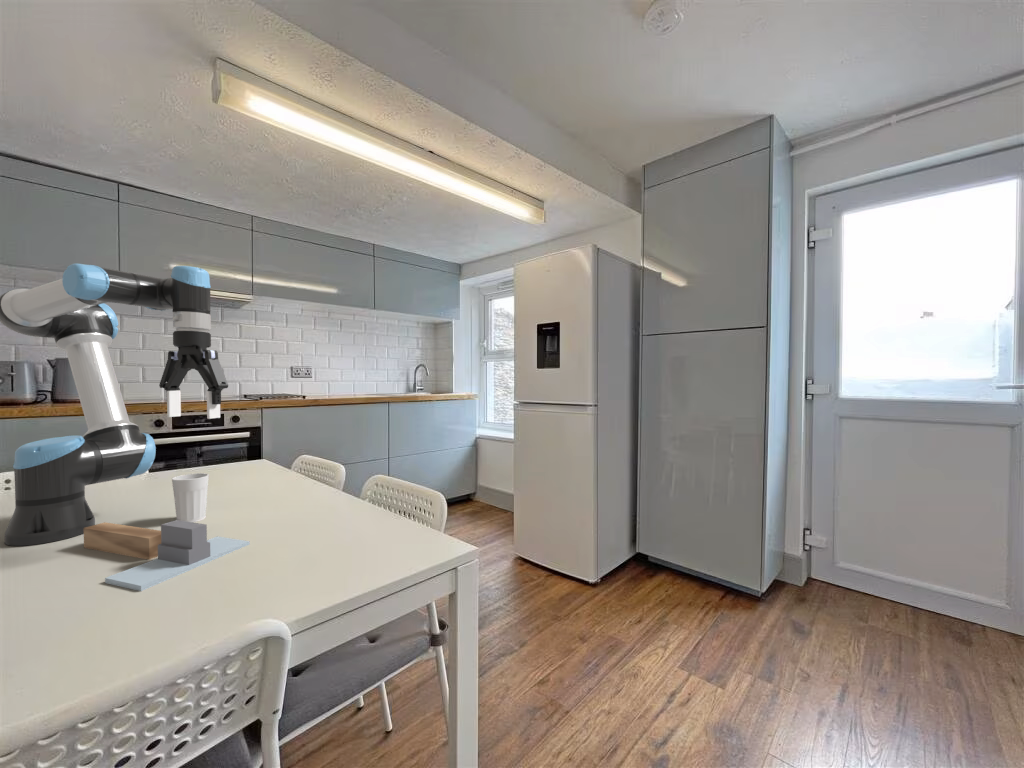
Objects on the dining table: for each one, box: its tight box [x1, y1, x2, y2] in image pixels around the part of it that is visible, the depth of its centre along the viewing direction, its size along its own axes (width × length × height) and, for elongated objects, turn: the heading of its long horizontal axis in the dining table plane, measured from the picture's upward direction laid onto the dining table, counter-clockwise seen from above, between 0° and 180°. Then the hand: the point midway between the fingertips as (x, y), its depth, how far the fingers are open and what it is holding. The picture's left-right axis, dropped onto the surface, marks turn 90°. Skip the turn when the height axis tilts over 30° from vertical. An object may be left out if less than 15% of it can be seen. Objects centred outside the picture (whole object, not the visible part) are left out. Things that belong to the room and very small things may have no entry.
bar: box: [83, 521, 161, 561], centre depth 96 cm, size 4×21×5 cm, turn 73°
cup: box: [171, 472, 210, 523], centre depth 116 cm, size 8×8×12 cm
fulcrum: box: [104, 519, 251, 592], centre depth 90 cm, size 10×22×8 cm, turn 162°
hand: (193, 417), depth 107 cm, fingers open, 13 cm apart
